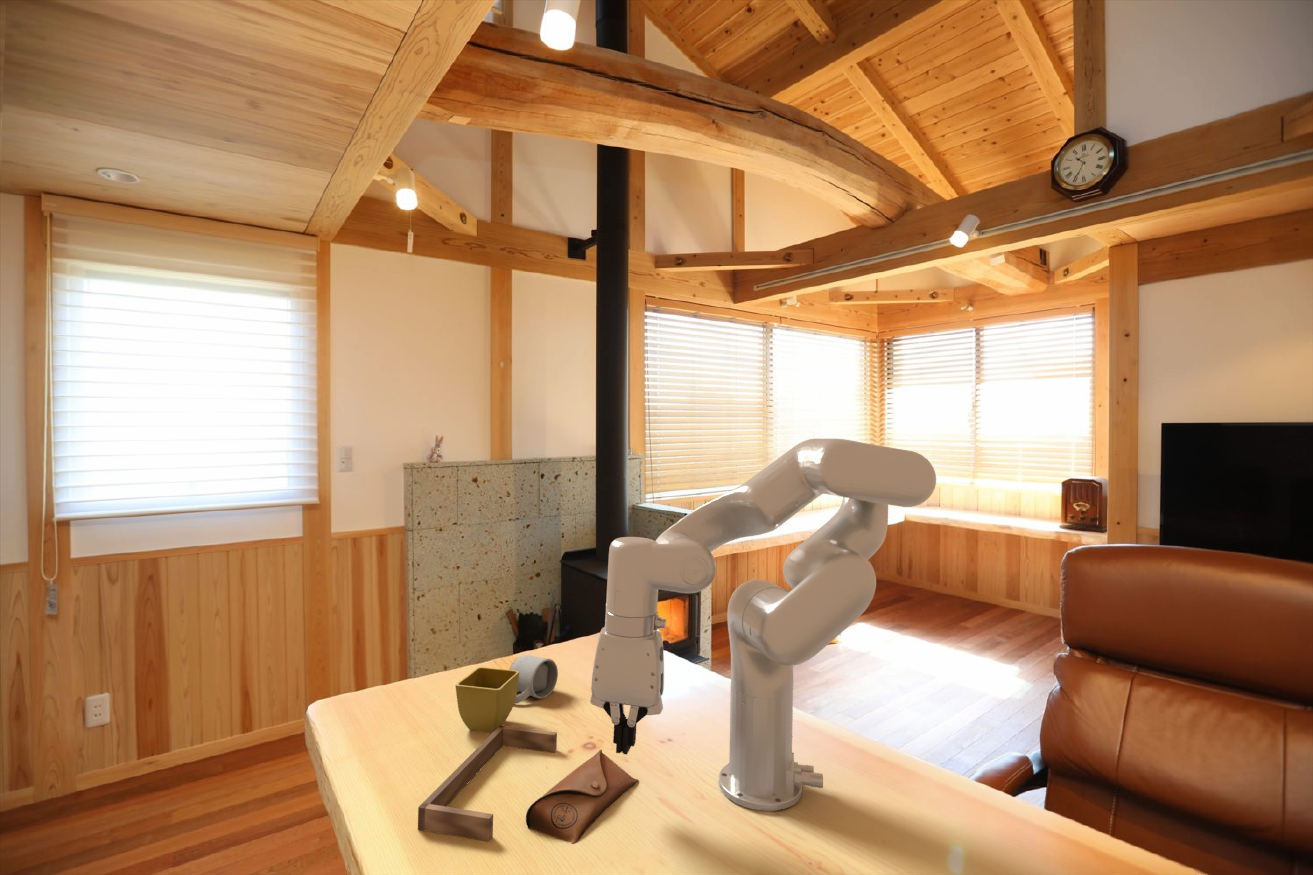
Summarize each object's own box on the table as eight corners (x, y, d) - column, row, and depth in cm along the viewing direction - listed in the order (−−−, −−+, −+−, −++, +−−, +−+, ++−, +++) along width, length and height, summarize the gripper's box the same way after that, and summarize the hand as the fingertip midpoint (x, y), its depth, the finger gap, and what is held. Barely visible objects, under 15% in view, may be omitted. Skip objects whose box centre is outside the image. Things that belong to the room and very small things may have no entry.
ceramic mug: (530, 681, 130) (530, 647, 130) (558, 690, 126) (558, 654, 126) (493, 700, 121) (493, 662, 121) (521, 710, 117) (522, 671, 117)
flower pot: (498, 740, 105) (499, 689, 105) (453, 734, 106) (454, 684, 106) (519, 717, 113) (520, 670, 113) (477, 712, 115) (478, 666, 115)
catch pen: (556, 749, 102) (556, 732, 102) (489, 841, 78) (489, 818, 78) (499, 742, 104) (500, 725, 104) (417, 829, 80) (418, 807, 80)
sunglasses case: (575, 846, 77) (555, 795, 79) (538, 858, 80) (519, 808, 82) (642, 778, 93) (624, 736, 95) (609, 790, 96) (592, 749, 98)
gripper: (685, 621, 89) (678, 744, 89) (590, 610, 92) (583, 729, 92) (676, 636, 82) (669, 771, 81) (573, 624, 85) (566, 753, 84)
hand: (624, 748), depth 87 cm, fingers closed
